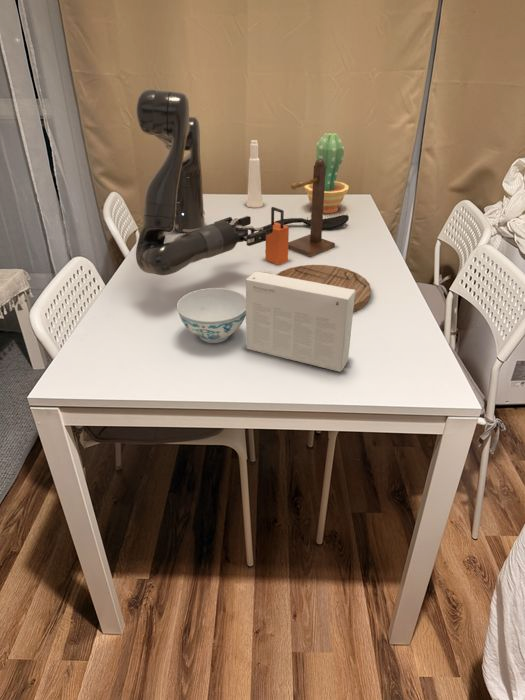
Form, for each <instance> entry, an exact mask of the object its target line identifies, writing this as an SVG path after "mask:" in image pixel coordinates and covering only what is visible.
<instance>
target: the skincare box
mask: <svg viewBox="0 0 525 700" xmlns="http://www.w3.org/2000/svg"><path fill="white" fill-rule="evenodd" d="M245 297H246V316H245V328H246V329H245V331H246V332H245V333H246V334H245V337H246V338H245V341H246V342H245V343H246V344H245V349H247V350H249V351H254V352H258V353H261V354H267V355H270V356H274V357H278V358H282V359H286V360H290V361H295V362H298V363H301V364H302V363H303V364H306V365H311V366H313V367H314V366H315V367H319V368H323V369H327V370H331V371H334V372H339V373H341V372H342V371H343V370H344V368H345V367H346V365H347V364H348V361H349V354H350V345H351V337H352V327H353V326H352V324H353V315H354V312H353V308H354V299H355V290H353V289H347V288H342V287H337V286H332V285H327V284H321V283H316V282H311V281H305V280H300V279H294V278H289V277H284V276H278V275H276V274H273V273H268V272H261V271H254V272H253V273H252V274H251V275H250V276H248V277H246V279H245Z"/></svg>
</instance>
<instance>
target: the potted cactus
mask: <svg viewBox="0 0 525 700" xmlns="http://www.w3.org/2000/svg"><path fill="white" fill-rule="evenodd" d="M344 153H345V146H344V144H343V142H342V139H341V138H340V136H339V134H338V133H337V132H335V133H332V132H328V133H326V132H325V133H324V134H323V135H322V137H320V140H319V141H317V143H316V160H318V159H323V160H324V161H325V166H326V173H325V189H324V205H323V214H333V213H334V214H335V213H336V212H338V210H339V206H340V205H341V204H342V202H343V201H344V198H345V196H346V194H348V192H349V186H350V185H348V184H346V183H345V182H342V181H338V180H337V178H338V172H339V169H340V166H341V164H342V163H343V160H344ZM304 191H305V193H307V197H308V200H309V202H310V204H311V205H312V192H313V183H312V184H309V185H305V186H304Z"/></svg>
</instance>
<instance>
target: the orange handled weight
mask: <svg viewBox="0 0 525 700" xmlns="http://www.w3.org/2000/svg"><path fill="white" fill-rule="evenodd" d="M275 212H277V213H280V220H281V224H279V223H277V222H275ZM284 213H285V211H284V210H283V209H282V208H278V207H274V206H271V207H270V216H271V217H270V224H271V225H273V232H272V233H271V234H268V235H266V241H265V261H267V262H270V263H272V264H275V265H276V266H279V265H282V264H284V263H286V262H289V249H288V242H289V237H290V236H289V235H290V233H289V232H290V227H289V225H283V223H284V219H285V218H284V217H285V215H284ZM274 222H275V223H274Z"/></svg>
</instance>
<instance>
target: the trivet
mask: <svg viewBox="0 0 525 700" xmlns="http://www.w3.org/2000/svg"><path fill="white" fill-rule="evenodd" d="M275 275H278V276H284V277H289V278H294V279H300V280H305V281H311V282H316V283H321V284H327V285H332V286H337V287H342V288H347V289H353V290H355V299H354V308H353V313H354V312H356V311H358V310H360V309H362V308H364V306H366V305H367V304H368V302H369V300H370V297H371V289H372V288H371V284H370V282H369V281H368V280H367V279H366V278H365V277H364V276H363V275H360V274H359V273H358V272H355V271H352V270H351V269H348V268H344V267H340V266H335V265H328V264H304V265H298V266H293V267H289V268H286V269H283V270H281V271H279V272H278V273H276V274H275Z"/></svg>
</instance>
